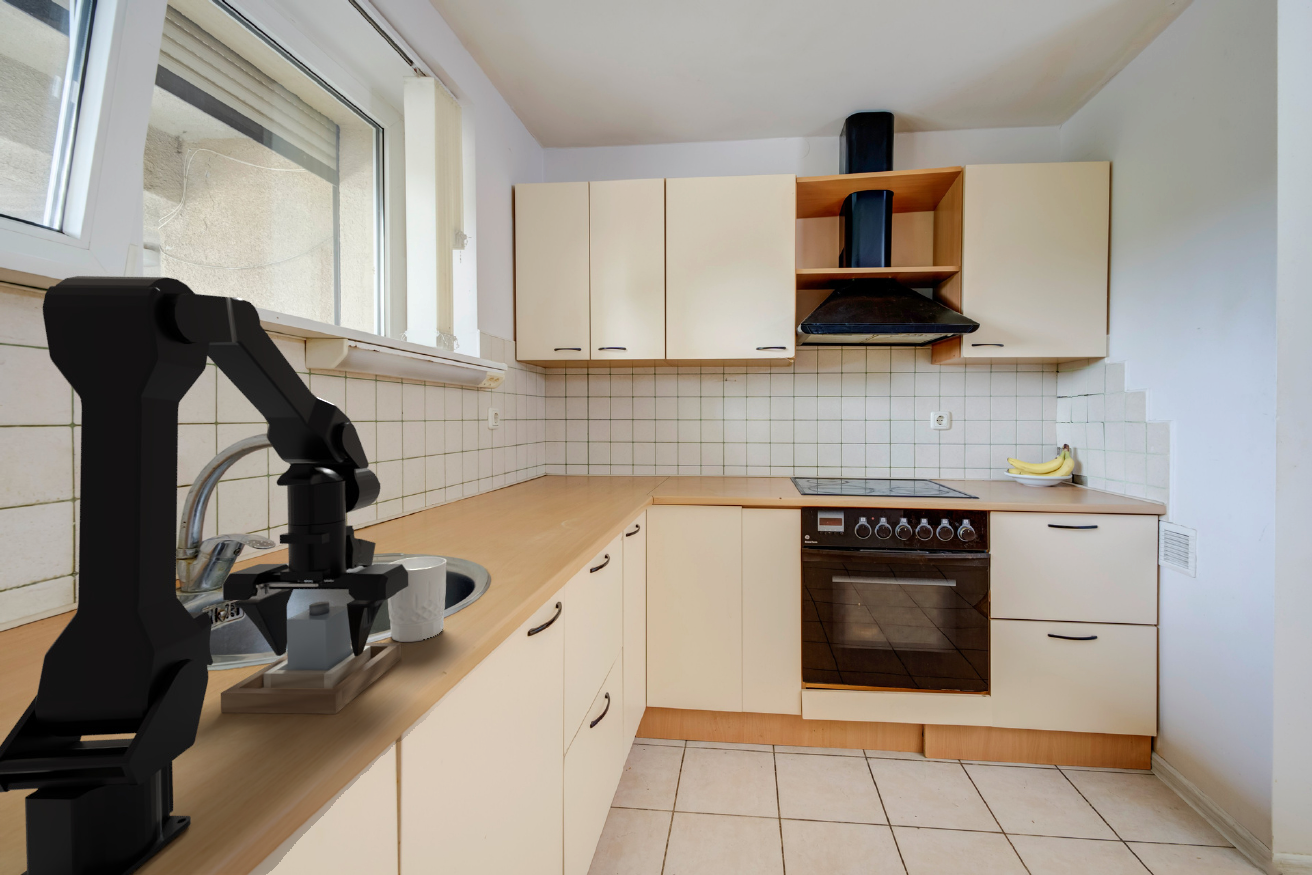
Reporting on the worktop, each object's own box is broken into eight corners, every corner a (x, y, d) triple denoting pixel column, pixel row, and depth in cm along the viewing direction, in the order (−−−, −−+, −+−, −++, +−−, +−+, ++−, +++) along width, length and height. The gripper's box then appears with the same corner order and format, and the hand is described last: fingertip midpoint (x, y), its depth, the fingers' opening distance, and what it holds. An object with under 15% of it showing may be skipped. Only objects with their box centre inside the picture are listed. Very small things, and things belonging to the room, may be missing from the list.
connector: (326, 681, 60) (325, 610, 60) (287, 681, 61) (286, 610, 60) (351, 664, 65) (349, 598, 65) (314, 663, 65) (313, 598, 65)
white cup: (415, 620, 81) (414, 554, 81) (459, 626, 79) (458, 558, 78) (373, 640, 74) (372, 567, 73) (420, 647, 71) (419, 572, 71)
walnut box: (335, 713, 55) (335, 693, 55) (221, 712, 55) (220, 691, 55) (401, 658, 68) (400, 642, 68) (307, 657, 68) (307, 641, 68)
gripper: (428, 510, 70) (430, 629, 70) (288, 511, 71) (291, 628, 71) (382, 525, 59) (384, 666, 59) (217, 526, 60) (219, 665, 60)
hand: (319, 654), depth 63 cm, fingers open, 9 cm apart
